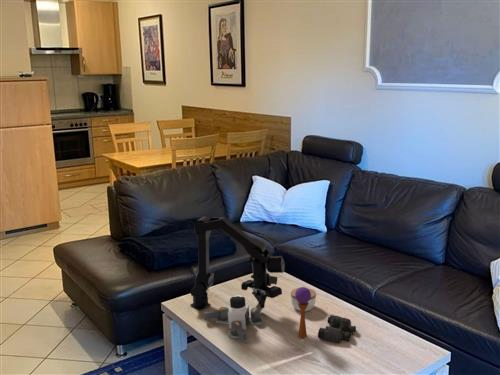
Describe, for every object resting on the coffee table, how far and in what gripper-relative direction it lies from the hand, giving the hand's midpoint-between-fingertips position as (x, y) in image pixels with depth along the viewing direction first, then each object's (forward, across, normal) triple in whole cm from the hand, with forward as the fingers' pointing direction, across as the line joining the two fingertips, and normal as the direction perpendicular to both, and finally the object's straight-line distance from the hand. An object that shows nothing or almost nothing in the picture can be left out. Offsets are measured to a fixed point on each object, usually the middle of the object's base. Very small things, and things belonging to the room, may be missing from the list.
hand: (262, 307), depth 205 cm
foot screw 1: (+2, +9, +14) cm, 17 cm away
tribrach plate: (+3, +1, +13) cm, 13 cm away
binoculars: (+7, -31, -10) cm, 33 cm away
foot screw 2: (+4, -1, +6) cm, 7 cm away
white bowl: (+5, -8, -16) cm, 19 cm away
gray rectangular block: (+4, -3, +19) cm, 19 cm away
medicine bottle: (+3, +1, +13) cm, 13 cm away
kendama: (+6, -22, +2) cm, 23 cm away
